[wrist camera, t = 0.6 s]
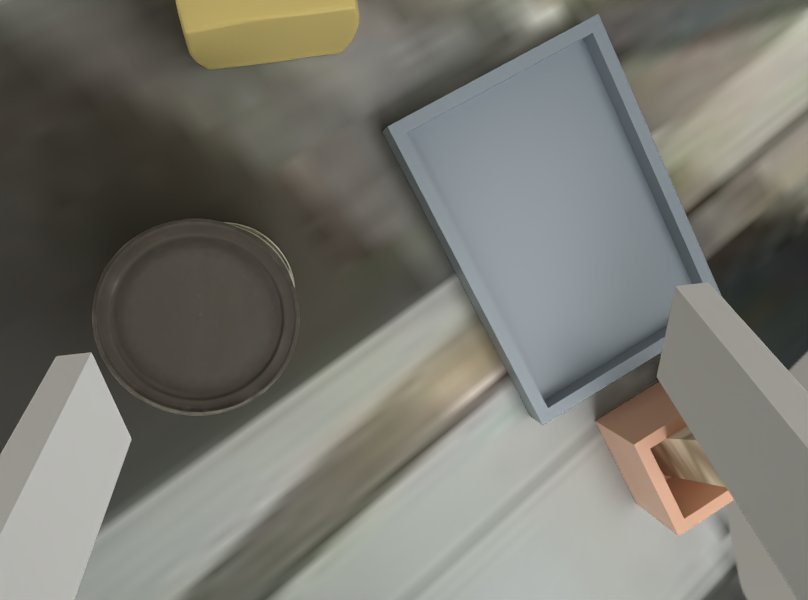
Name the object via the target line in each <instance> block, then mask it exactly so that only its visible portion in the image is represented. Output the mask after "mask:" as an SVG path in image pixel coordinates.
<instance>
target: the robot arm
mask: <svg viewBox="0 0 808 600" xmlns="http://www.w3.org/2000/svg"><path fill="white" fill-rule="evenodd" d="M657 378H658V380H659V382H660V383H661V385H662V386H663V388H664V390H665V391H666V393H667V394H668V396H669V397H670V399H671V401H672V402H673V404H674V405H675V407H676V409H677V410H678V412H679V413H680V415H681V416H682V418H683V420H684V421H685V423H686V424H687V426H688V428H689V429H690V431H691V432H692V434H693V435H694V437H695V439H696V440H697V442H698V443H699V445H700V446H701V448H702V450H703V451H704V453H705V454H706V456H707V458H708V459H709V461H710V462H711V464H712V465H713V467H714V469H715V470H716V472H717V473H718V475H719V477H720V478H721V480H722V481H723V483H724V484H725V486H726V488H727V489H728V491H729V492H730V494H731V496H732V497H733V499H734V500H735V502H736V503H737V505H738V506H739V508H740V510H741V511H742V513H743V514H744V516H745V518H746V519H747V521H748V522H749V524H750V525H751V527H752V529H753V530H754V532H755V533H756V535H757V537H758V538H759V540H760V541H761V543H762V545H763V546H764V548H765V549H766V551H767V552H768V554H769V556H770V557H771V559H772V560H773V562H774V564H775V565H776V567H777V568H778V570H779V571H780V573H781V574H782V576H783V578H784V579H785V581H786V582H787V584H788V586H789V587H790V589H791V590H792V592H793V594H794V595H795V597H796V598H797V600H808V392H807V391H806V390H805V389H804V388H803V387H802V385H801V384H800V383H799V382H798V381H797V380H796V379H795V378H794V377H793V375H792V374H791V373H790V372H789V371H788V370H787V369H786V368H785V367H784V365H783V364H782V363H781V362H780V361H779V360H778V359H777V358H776V357H775V355H774V354H773V353H772V352H771V351H770V350H769V349H768V348H767V347H766V346H765V344H764V343H763V342H762V341H761V340H760V339H759V338H758V337H757V336H756V334H755V333H754V332H753V331H752V330H751V329H750V328H749V327H748V326H747V324H746V323H745V322H744V321H743V320H742V319H741V318H740V317H739V316H738V314H737V313H736V312H735V311H734V310H733V309H732V308H731V307H730V306H729V304H728V303H727V302H726V301H725V300H724V299H723V298H722V297H721V296H720V295H719V293H718V292H717V291H716V290H715V289H714V288H713V287H712V286H711V285H710V283H709V282H707V283H698V284H689V285H680V286H675V291H674V296H673V301H672V305H671V310H670V315H669V320H668V324H667V329H666V334H665V339H664V344H663V348H662V353H661V358H660V363H659V368H658V372H657ZM130 442H131V437H130V435H129V432H128V430H127V428H126V426H125V424H124V422H123V419H122V417H121V415H120V413H119V411H118V409H117V406H116V404H115V402H114V400H113V398H112V396H111V394H110V391H109V389H108V387H107V385H106V383H105V381H104V378H103V376H102V374H101V372H100V370H99V368H98V365H97V363H96V361H95V359H94V357H93V355H92V353H91V352H90V353H81V354H73V355H64V356H56V358H55V359H54V361H53V363H52V365H51V366H50V368H49V370H48V372H47V373H46V375H45V377H44V379H43V380H42V382H41V384H40V386H39V387H38V389H37V391H36V393H35V394H34V396H33V398H32V400H31V402H30V403H29V405H28V407H27V409H26V410H25V412H24V414H23V416H22V417H21V419H20V421H19V423H18V424H17V426H16V428H15V430H14V431H13V433H12V435H11V437H10V438H9V440H8V442H7V444H6V445H5V447H4V449H3V451H2V452H1V454H0V600H75V597H76V594H77V591H78V589H79V586H80V583H81V580H82V577H83V575H84V572H85V569H86V566H87V563H88V560H89V558H90V555H91V552H92V549H93V546H94V544H95V541H96V538H97V535H98V532H99V529H100V527H101V524H102V521H103V518H104V515H105V513H106V510H107V507H108V504H109V501H110V498H111V496H112V493H113V490H114V487H115V484H116V482H117V479H118V476H119V473H120V470H121V467H122V465H123V462H124V459H125V456H126V453H127V451H128V448H129V445H130Z"/></svg>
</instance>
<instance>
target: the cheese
mask: <svg viewBox="0 0 808 600" xmlns="http://www.w3.org/2000/svg"><path fill="white" fill-rule="evenodd" d="M175 1H176V6H177V10H178V15H179V19H180V22H181V26H182V30H183V34H184V37H185V41H186V45H187V48H188V51H189V53H190V55H191V57H192V58H193V59H194V60H195V61H196V62H197V63H198V64H200V65H202V66H203V67H205V68H206V69H219V68H229V67H239V66H248V65H257V64H265V63H273V62H279V61H286V60H293V59H299V58H306V57H312V56H320V55H329V54H337V53H341V52H342V51H343V50H344V49H345V48H346V47H347V46H348V45H349V44H350V42H351V41H352V40H353V38H354V36H355V33H356V31H357V28H358V25H359V20H360V18H359V9H358V3H357V0H175Z"/></svg>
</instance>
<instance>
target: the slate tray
mask: <svg viewBox="0 0 808 600" xmlns="http://www.w3.org/2000/svg"><path fill="white" fill-rule="evenodd" d="M382 133H383V134H384V136H385V138H386V140H387V142H388V144H389V146H390V148H391V150H392V152H393V154H394V156H395V157H396V159H397V161H398V163H399V165H400V167H401V169H402V171H403V173H404V175H405V177H406V178H407V180H408V182H409V184H410V186H411V188H412V190H413V192H414V194H415V196H416V198H417V200H418V201H419V203H420V205H421V207H422V209H423V211H424V213H425V215H426V217H427V219H428V221H429V223H430V224H431V226H432V228H433V230H434V232H435V234H436V236H437V238H438V240H439V242H440V244H441V246H442V247H443V249H444V251H445V253H446V255H447V257H448V259H449V261H450V263H451V265H452V267H453V269H454V270H455V272H456V274H457V276H458V278H459V280H460V282H461V284H462V286H463V288H464V290H465V292H466V293H467V295H468V297H469V299H470V301H471V303H472V305H473V307H474V309H475V311H476V313H477V315H478V316H479V318H480V320H481V322H482V324H483V326H484V328H485V330H486V332H487V334H488V336H489V338H490V339H491V341H492V343H493V345H494V347H495V349H496V351H497V353H498V355H499V357H500V359H501V361H502V362H503V364H504V366H505V368H506V370H507V372H508V374H509V376H510V378H511V380H512V382H513V384H514V385H515V387H516V389H517V391H518V393H519V395H520V397H521V399H522V401H523V403H524V405H525V407H526V408H527V410H528V412H529V414H530V416H531V417H532V418H534V419H535V420H536V421H538V422H539V423H540V424H542V425H544V424H546V423H547V422H549V421H551V420H552V419H554V418H555V417H557V416H559V415H560V414H562V413H564V412H565V411H567V410H568V409H570V408H572V407H573V406H575V405H577V404H578V403H580V402H582V401H583V400H585V399H586V398H588V397H590V396H591V395H593V394H595V393H596V392H598V391H599V390H601V389H603V388H604V387H606V386H608V385H609V384H611V383H612V382H614V381H616V380H617V379H619V378H621V377H622V376H624V375H626V374H627V373H629V372H630V371H632V370H634V369H635V368H637V367H639V366H640V365H642V364H643V363H645V362H647V361H648V360H650V359H652V358H653V357H655V356H656V355H658V354H660V353H661V352H662V348H663V344H664V339H665V334H666V329H667V324H668V320H669V315H670V310H671V305H672V301H673V296H674V291H675V286H680V285H689V284H698V283H707V282H709V283H710V285H711V286H712V287H713V288H714V289H715V290H716V291H717V292H718V293H719V295H720V296H721V294H720V292H719V289H718V287H717V285H716V283H715V280H714V278H713V276H712V273H711V271H710V269H709V267H708V264H707V262H706V260H705V257H704V255H703V253H702V251H701V248H700V246H699V244H698V241H697V239H696V237H695V234H694V232H693V230H692V228H691V225H690V223H689V221H688V218H687V216H686V214H685V212H684V209H683V207H682V205H681V202H680V200H679V198H678V195H677V193H676V191H675V189H674V186H673V184H672V182H671V179H670V177H669V175H668V173H667V170H666V168H665V166H664V163H663V161H662V159H661V156H660V154H659V152H658V150H657V147H656V145H655V143H654V140H653V138H652V136H651V134H650V131H649V129H648V127H647V124H646V122H645V120H644V117H643V115H642V113H641V111H640V108H639V106H638V104H637V101H636V99H635V97H634V95H633V92H632V90H631V88H630V85H629V83H628V81H627V78H626V76H625V74H624V72H623V69H622V67H621V65H620V62H619V60H618V58H617V56H616V53H615V51H614V49H613V46H612V44H611V42H610V39H609V37H608V35H607V33H606V30H605V28H604V26H603V23H602V21H601V19H600V17H599V14H597V15H595V16H593V17H591V18H590V19H588V20H586V21H584V22H582V23H580V24H578V25H576V26H575V27H573V28H571V29H569V30H567V31H565V32H563V33H561V34H560V35H558V36H556V37H554V38H552V39H550V40H548V41H547V42H545V43H543V44H541V45H539V46H537V47H535V48H533V49H532V50H530V51H528V52H526V53H524V54H522V55H520V56H518V57H517V58H515V59H513V60H511V61H509V62H507V63H505V64H503V65H502V66H500V67H498V68H496V69H494V70H492V71H490V72H489V73H487V74H485V75H483V76H481V77H479V78H477V79H475V80H474V81H472V82H470V83H468V84H466V85H464V86H462V87H460V88H459V89H457V90H455V91H453V92H451V93H449V94H447V95H445V96H444V97H442V98H440V99H438V100H436V101H434V102H432V103H431V104H429V105H427V106H425V107H423V108H421V109H419V110H417V111H416V112H414V113H412V114H410V115H408V116H406V117H404V118H402V119H401V120H399V121H397V122H395V123H393V124H391V125H389V126H388V127H387V128H386V129H385V130H384V131H383V132H382ZM721 297H722V296H721Z"/></svg>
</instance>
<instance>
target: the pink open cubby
mask: <svg viewBox="0 0 808 600" xmlns="http://www.w3.org/2000/svg"><path fill="white" fill-rule="evenodd" d="M595 422H596V424H597V426H598V428H599V430H600V432H601V434H602V436H603V438H604V440H605V442H606V444H607V446H608V448H609V450H610V452H611V454H612V456H613V458H614V460H615V462H616V464H617V466H618V468H619V470H620V472H621V474H622V476H623V478H624V480H625V482H626V484H627V486H628V488H629V490H630V492H631V494H632V496H633V498H634V500H635V502H636V503H637V504H638V505H639V506H640V507H642V508H643V509H644V510H646V511H647V512H648V513H649V514H651V515H652V516H653V517H655V518H656V519H657V520H658V521H660V522H661V523H662V524H664V525H665V526H666V527H668V528H669V529H670V530H671V531H673V532H674V533H675V534H677V535H678V536H680V535H681V534H683V533H684V532H686V531H687V530H689V529H690V528H692V527H693V526H695V525H696V524H698V523H699V522H701V521H703V520H704V519H706V518H707V517H709V516H710V515H712V514H713V513H715V512H716V511H718V510H719V509H721V508H722V507H724V506H725V505H727V504H728V503H730V502H732V501H733V500H734V499H733V497H732V496H731V494H730V492H729V491H728V489H727V488H726V487H721V486H716V485H711V484H706V483H701V482H696V481H691V480H686V479H681V478H676V477H671V476H666V475H664V474H663V473H662V471H661V470H660V468H659V466H658V464H657V462H656V460H655V458H654V456H653V454H652V452H651V448H652V447H654V446H655V445H657V444H658V443H660V442H662V441H663V440H665V439H666V438H668V437H669V436H671V435H673V434H674V433H676V432H677V431H679V430H681V429H682V428H684V427H685V426H687V424H686V423H685V421H684V420H683V418H682V416H681V415H680V413H679V412H678V410H677V409H676V407H675V405H674V404H673V402H672V401H671V399H670V397H669V396H668V394H667V393H666V391H665V390H664V388H663V386H662V385H661V383H660V382H657V383H656V384H654V385H652V386H651V387H649V388H647V389H646V390H644V391H643V392H641V393H639V394H638V395H636V396H635V397H633V398H631V399H630V400H628V401H627V402H625V403H623V404H622V405H620V406H618V407H617V408H615V409H614V410H612V411H610V412H609V413H607V414H606V415H604V416H602V417H601V418H599V419H597V420H596V421H595Z"/></svg>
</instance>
